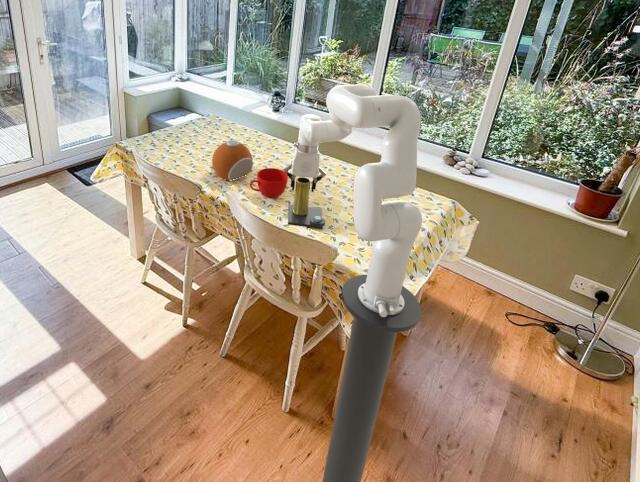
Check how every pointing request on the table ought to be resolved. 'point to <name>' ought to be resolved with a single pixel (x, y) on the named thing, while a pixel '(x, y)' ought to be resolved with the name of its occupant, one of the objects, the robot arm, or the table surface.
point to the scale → (306, 218)
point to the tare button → (317, 219)
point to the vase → (301, 196)
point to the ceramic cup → (271, 182)
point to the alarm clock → (232, 160)
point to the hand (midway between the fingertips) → (302, 189)
